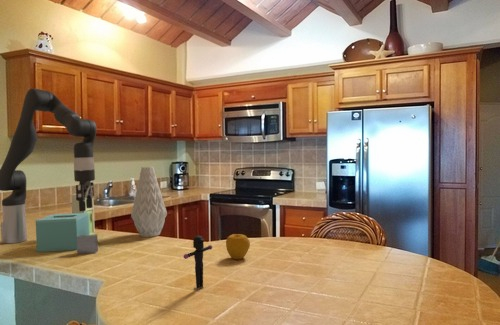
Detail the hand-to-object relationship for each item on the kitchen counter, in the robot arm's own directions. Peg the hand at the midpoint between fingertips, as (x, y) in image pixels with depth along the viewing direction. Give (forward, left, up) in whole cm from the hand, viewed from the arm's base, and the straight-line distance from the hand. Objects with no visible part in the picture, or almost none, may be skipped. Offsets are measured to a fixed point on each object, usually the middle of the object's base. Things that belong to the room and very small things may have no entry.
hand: (86, 209), depth 151 cm
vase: (+20, +28, -18) cm, 39 cm away
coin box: (-14, +14, -17) cm, 26 cm away
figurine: (+46, -50, -18) cm, 70 cm away
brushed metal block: (0, 0, -17) cm, 17 cm away
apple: (+59, -21, -18) cm, 65 cm away
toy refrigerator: (-12, +34, -18) cm, 40 cm away
